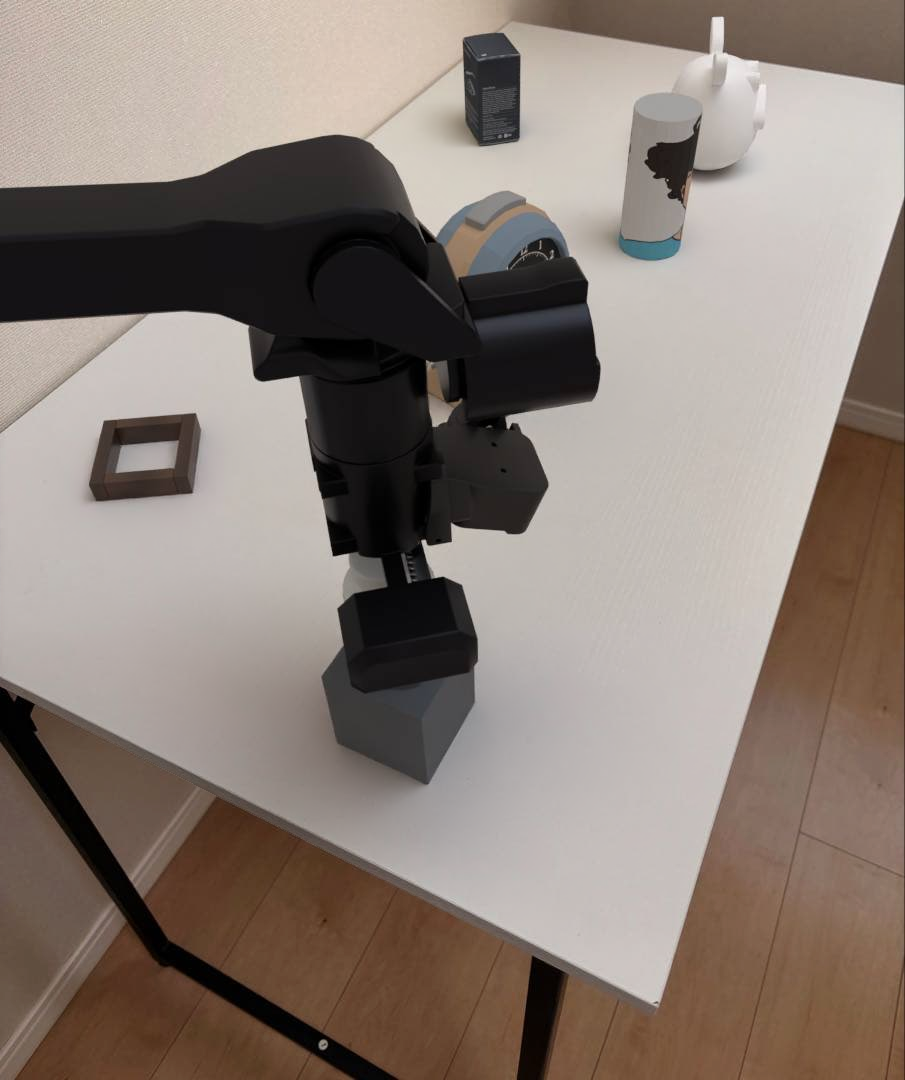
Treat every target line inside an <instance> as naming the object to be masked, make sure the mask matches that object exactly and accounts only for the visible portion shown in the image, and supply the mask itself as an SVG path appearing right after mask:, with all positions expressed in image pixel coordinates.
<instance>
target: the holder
mask: <svg viewBox="0 0 905 1080" xmlns="http://www.w3.org/2000/svg"><path fill="white" fill-rule="evenodd" d="M201 432H202V428H201V425H200V422H199V417H198V414H197V413H196V412H191V413H178V414H165V415H153V416H143V417H142V416H141V417H129V418H121V419H120V418H118V419H105V420H103V422H102V426H101V431H100V435H99V439H98V443H97V447H96V452H95V456H94V459H93V465H92V468H91V473H90V477H89V481H88V487H89V489H90V491H91V493H92V495H93V498H94V500H95V502H99V501H100V502H101V501H109V500H111V501H112V500H121V499H133V498H134V499H135V498H145V497H157V496H158V497H159V496H167V495H168V496H169V495H170V496H171V495H178V494H179V495H181V494H191V493H193V492H194V485H195V478H196V471H197V462H198V457H199V456H198V455H199V448H200V440H201ZM166 441H178V443H177V450H176V457H175V464H174V467H169V468H156V469H146V470H133V471H122V472H120V471H119V472H116V471H117V466H118V461H119V456H120V452H121V448H122V445H131V444H143V443H144V444H145V443H155V442H166Z"/></svg>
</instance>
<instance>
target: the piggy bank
mask: <svg viewBox="0 0 905 1080" xmlns="http://www.w3.org/2000/svg"><path fill="white" fill-rule="evenodd" d="M710 21H711V22H710V35H709V54H705V55H702V56H699V57H697V58H695V59H693V60H692V61H690V62H689V63H687V64H686V65H685V66H684V67H683V69H682V70H681V71H680V73H679V74H678V76H677V78H676V80H675V82H674V84H673V87H672V88H671V92H670V93H679V94H683V95H687V96H690V97H692V98H695V99H697V100H698V101H699V102H700V103H701V104H702V106H703V112H702V118H701V124H700V130H699V136H698V142H697V148H696V154H695V160H694V166H693V170H699V171H715V170H720V169H723V168H726V167H729V166H730V165H733V164H734V163H736V162H737V161H739V160H741V158H743V157H744V156H745V154H747V153H748V151H749V150H750V148H751V147H752V145H753V144H754V141H755V139H756V136H757V132H758V131H760V130H764V127H765V123H766V111H767V92H768V91H767V88H768V86H767V84H766V83H761V72H759V60H743V59H742V58H740V57H738V56H735V55H732V54H728V53H727V52H723V51H724V41H725V39H724V38H725V18H724V16H713V17H711V20H710Z"/></svg>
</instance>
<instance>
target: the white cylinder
mask: <svg viewBox="0 0 905 1080" xmlns="http://www.w3.org/2000/svg"><path fill="white" fill-rule="evenodd" d="M702 112H703V106H702V104H701V103H700V102H699V101H698V100H697V99H695V98H692V97H690V96H687V95H683V94H679V93H671V92H669V91H667V92H654V93H649V94H648V93H647V94H646V95H643V96H641V97H639V98H638V99H636V100H635V103H634V105H633V111H632V121H631V129H630V138H629V147H628V155H627V165H626V173H625V181H624V190H623V191H624V192H623V199H622V209H621V217H620V226H619V234H618V235H619V236H618V246H619V248H620V249H621V251H622V252H624V253H625V254H627V255H628V256H630V257H632V258H636V259H639V260H645V261H659V260H664V259H668V258H671V257H672V256H675V255H676V254H677V253H678V252H679V251H680V247H681V243H682V237H683V231H684V225H685V220H686V214H687V207H688V202H689V195H690V189H691V183H692V177H693V170H694V168H693V166H694V160H695V154H696V148H697V142H698V136H699V130H700V124H701V118H702Z"/></svg>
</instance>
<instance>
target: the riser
mask: <svg viewBox="0 0 905 1080" xmlns="http://www.w3.org/2000/svg"><path fill="white" fill-rule="evenodd" d="M475 678H476V677H475V666H474V667H473V669H472V670H471V671H470V673H466V674H461V675H456V676H451V677H446V678H441V679H436V680H431V681H426V682H421V683H420V685H419V686H418V687H416V688H412V689H407V690H399V689H398V688H391V689H386V690H381V691H376V692H371V693H366V694H364V693H362V692H360V691H359V690H357V689H355V688H353V687H351V683H350V678H349V673H348V668H347V663H346V657H345V651H344V645H343V644H342V646H341V648H340V649H339V651H338V652H337V654H336V655H335V656H334V658H333V659H332V661H331V662H330V663H329V665H328V667H327V668H326V669H325V670H324V672H323V673H322V675H321V682H322V685H323V691H324V694H325V698H326V703H327V706H328V711H329V716H330V720H331V724H332V728H333V732H334V736H335V741H336V743H337V744H339V745H341V746H343V747H346V748H347V749H350V750H352V751H353V752H356V753H358V754H360V755H363V756H365V757H367V758H369V759H371V760H373V761H376V762H378V763H380V764H383V765H384V766H386V767H388V768H391V769H393V770H396V771H397V772H400V773H402V774H404V775H406V776H408V777H410V778H413V779H415V780H417V781H419V782H421V783H424V784H426V785H429V784H430V782H431V780H432V779H433V776H434V775H435V773H436V771H437V769H438V768H439V767H440V764H441V762H442V761H443V759H444V757H445V756H446V754H447V752H448V751H449V749H450V747H451V745H452V744H453V742H454V740H455V738H456V736H457V735H458V733H459V731H460V729H461V727H462V726H463V724H464V722H465V721H466V719H467V718H468V715H469V714H470V712H471V710H472V709H473V708H474V705H475V703H476V686H475V685H476V684H475V682H476V680H475Z"/></svg>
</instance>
